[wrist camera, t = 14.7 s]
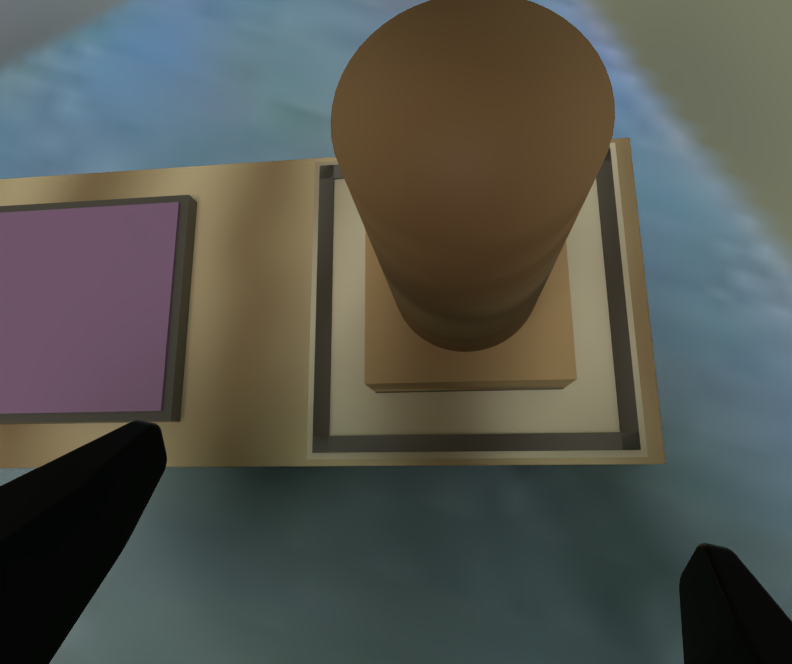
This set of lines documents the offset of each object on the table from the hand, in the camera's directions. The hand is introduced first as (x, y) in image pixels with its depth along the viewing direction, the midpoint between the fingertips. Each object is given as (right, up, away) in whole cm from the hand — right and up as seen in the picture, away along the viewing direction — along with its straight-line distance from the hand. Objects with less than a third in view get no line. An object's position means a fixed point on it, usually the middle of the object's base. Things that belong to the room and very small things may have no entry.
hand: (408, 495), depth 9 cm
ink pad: (-11, +3, +10) cm, 15 cm away
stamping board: (-4, +3, +11) cm, 12 cm away
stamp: (+2, +4, +8) cm, 9 cm away
